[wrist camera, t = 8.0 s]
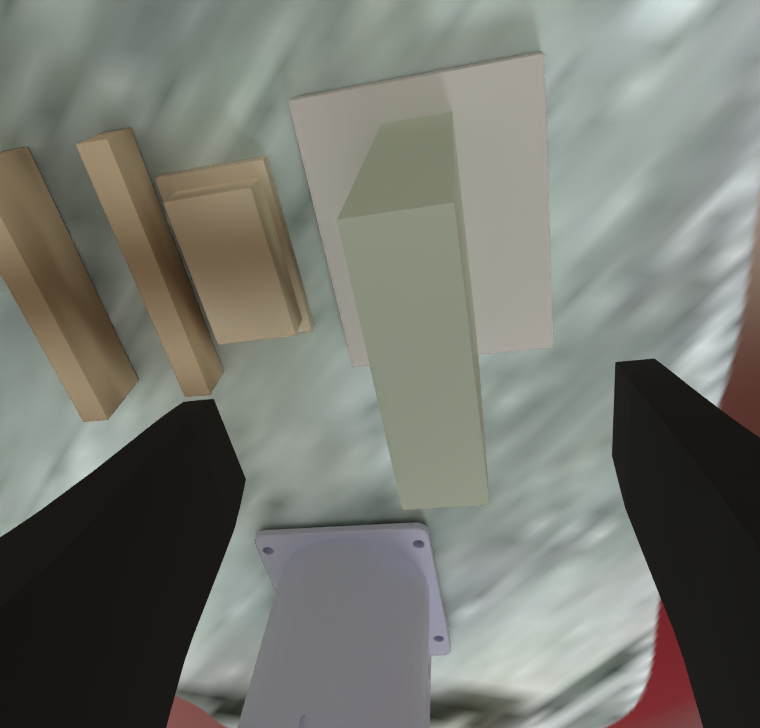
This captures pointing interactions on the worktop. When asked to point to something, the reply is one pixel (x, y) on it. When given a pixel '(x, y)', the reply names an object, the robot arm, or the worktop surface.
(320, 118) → the mat
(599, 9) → the worktop surface
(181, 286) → the rack
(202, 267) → the offcut upper
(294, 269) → the offcut lower
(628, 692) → the worktop surface
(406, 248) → the block
